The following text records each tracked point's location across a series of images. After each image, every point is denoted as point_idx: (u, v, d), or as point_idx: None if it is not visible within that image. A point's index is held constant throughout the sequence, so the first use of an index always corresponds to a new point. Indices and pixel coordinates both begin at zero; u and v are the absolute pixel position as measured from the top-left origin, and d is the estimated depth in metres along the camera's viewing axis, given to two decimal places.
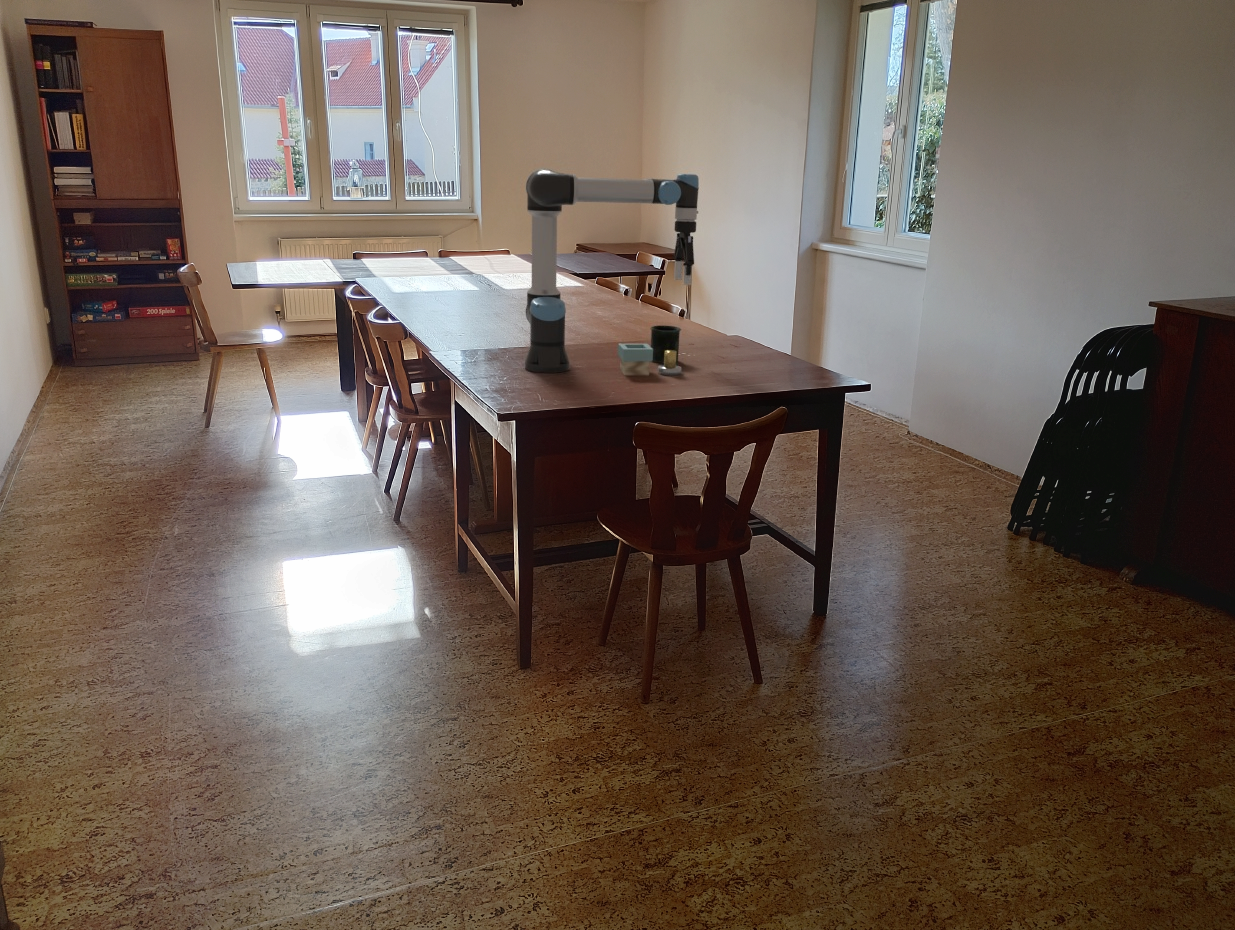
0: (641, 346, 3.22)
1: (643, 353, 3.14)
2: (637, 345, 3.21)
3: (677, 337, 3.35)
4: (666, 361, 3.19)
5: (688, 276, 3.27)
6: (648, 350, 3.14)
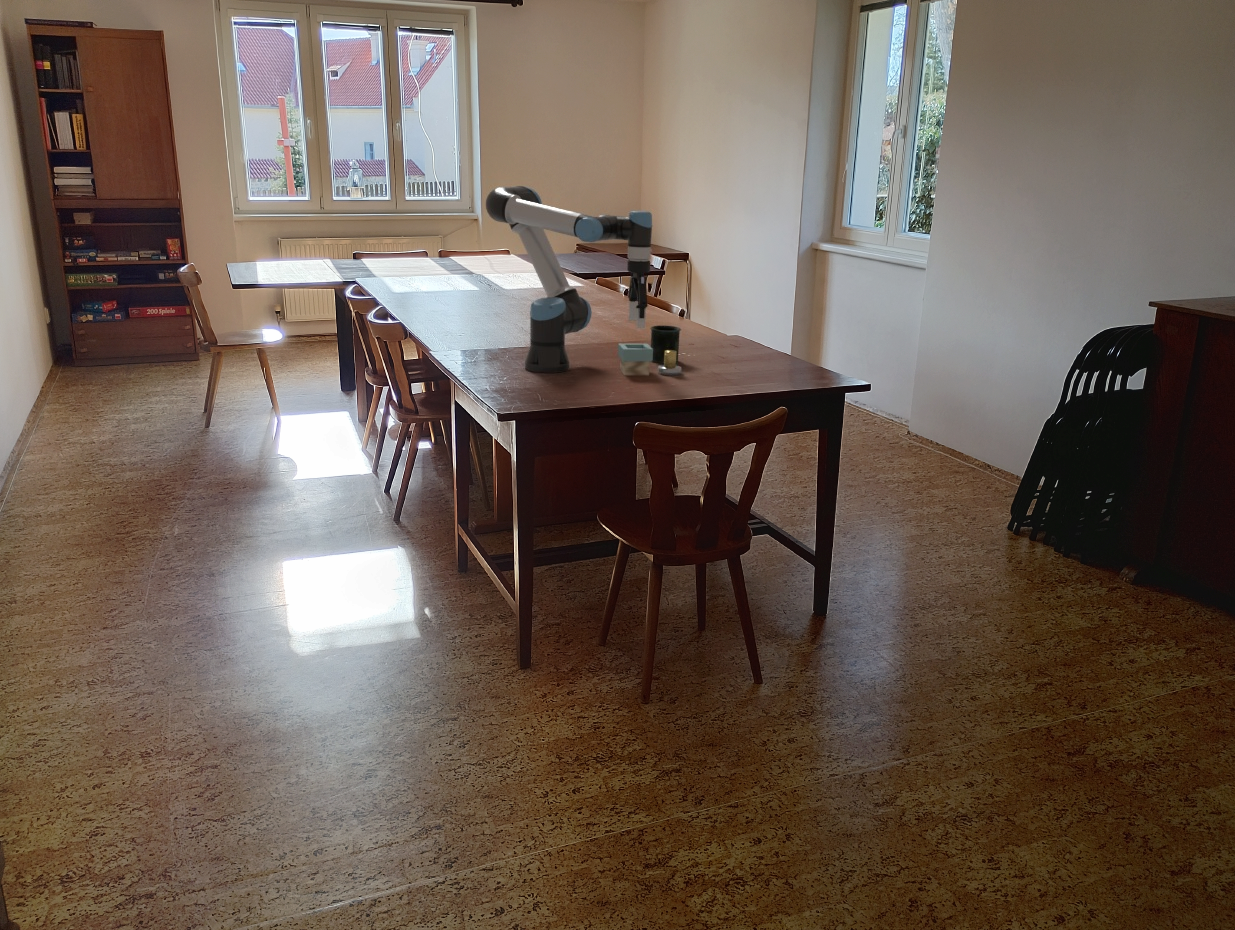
0: (641, 346, 3.22)
1: (643, 353, 3.14)
2: (637, 345, 3.21)
3: (677, 337, 3.35)
4: (666, 361, 3.19)
5: (642, 319, 3.08)
6: (648, 350, 3.14)
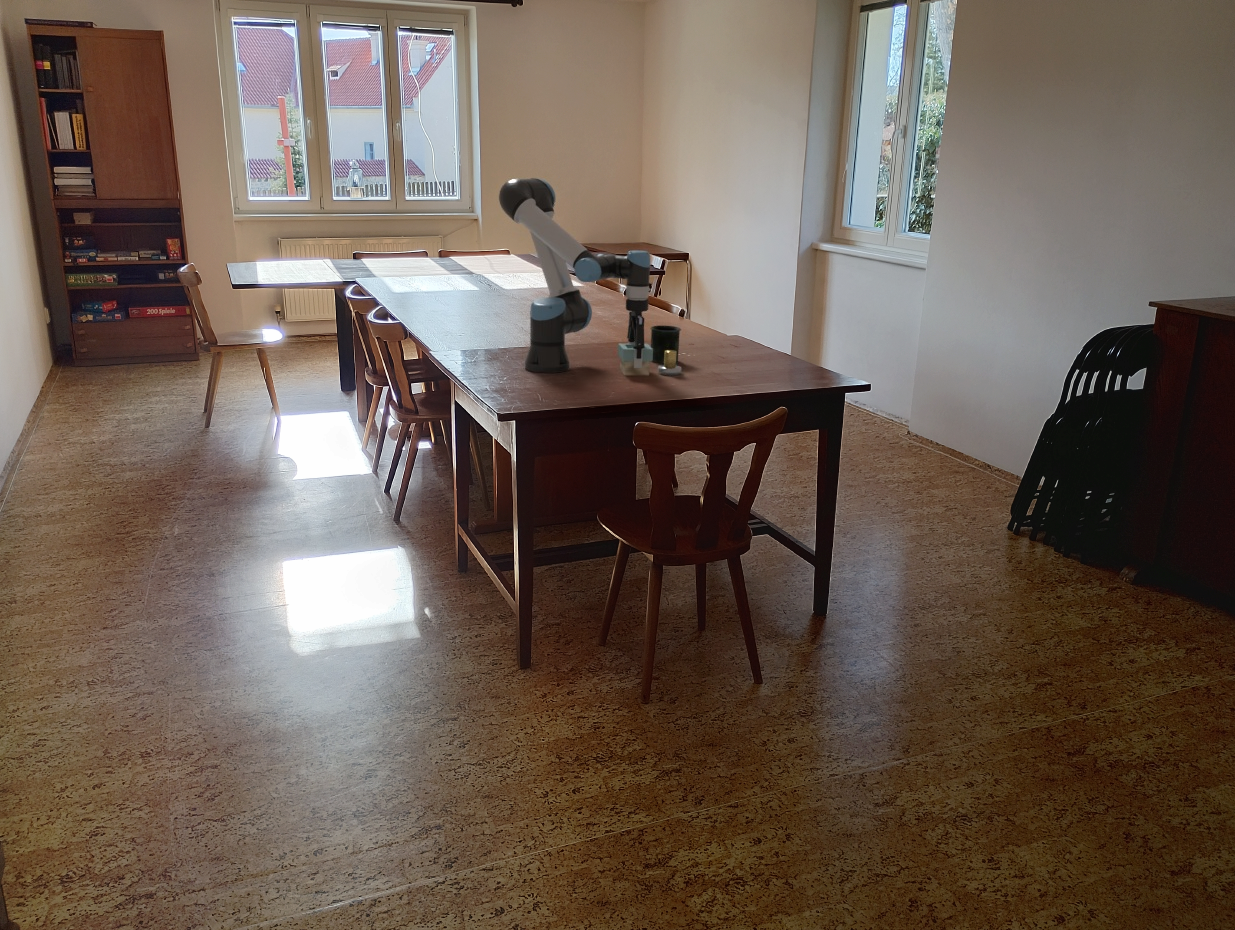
0: None
1: (643, 353, 3.14)
2: None
3: (677, 337, 3.35)
4: (666, 361, 3.19)
5: (639, 359, 3.14)
6: (648, 350, 3.14)
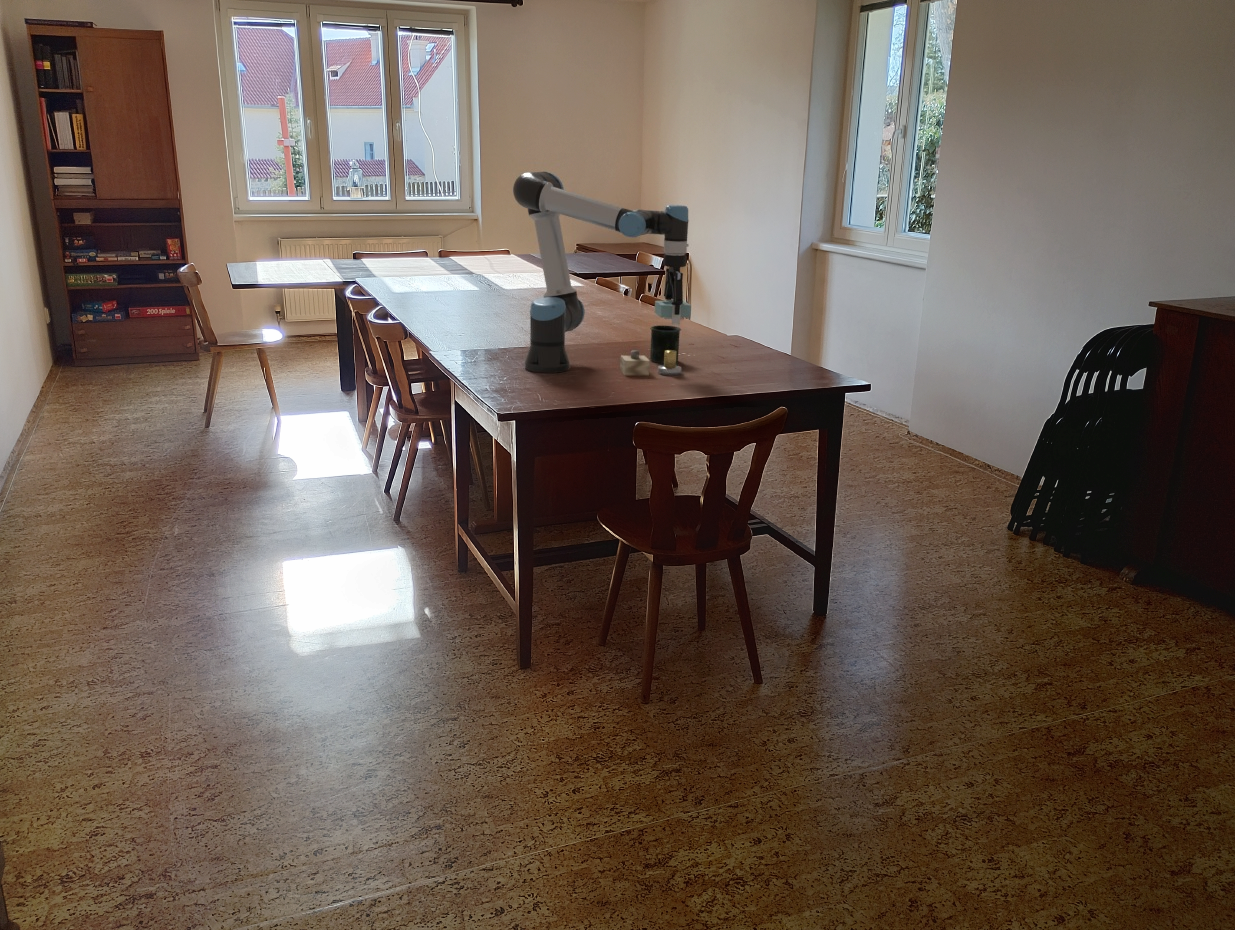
0: None
1: (681, 309, 3.10)
2: None
3: (677, 337, 3.35)
4: (666, 361, 3.19)
5: (677, 315, 3.10)
6: (686, 306, 3.10)
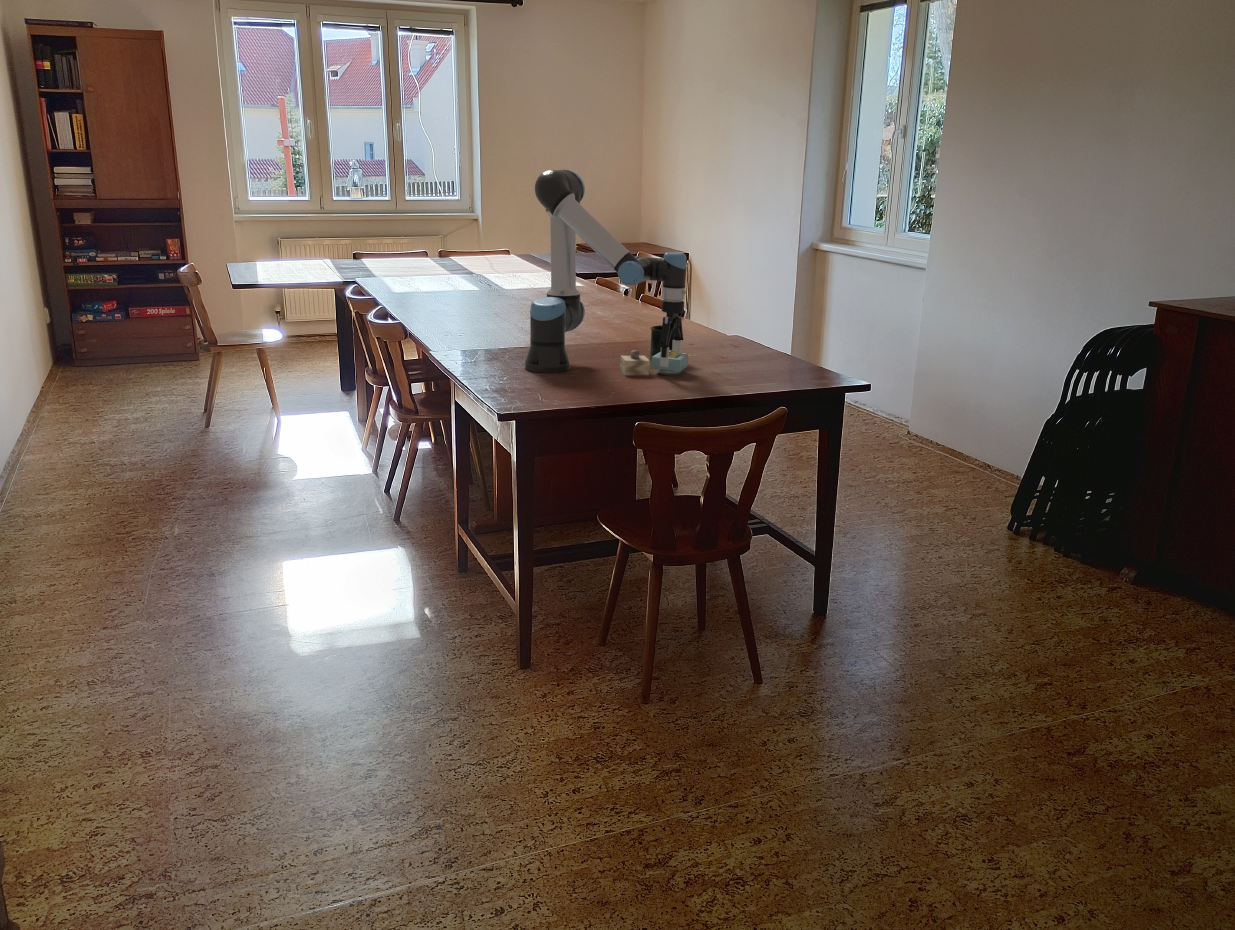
0: None
1: (670, 363, 3.15)
2: (676, 355, 3.23)
3: None
4: None
5: (664, 358, 3.13)
6: (675, 360, 3.15)
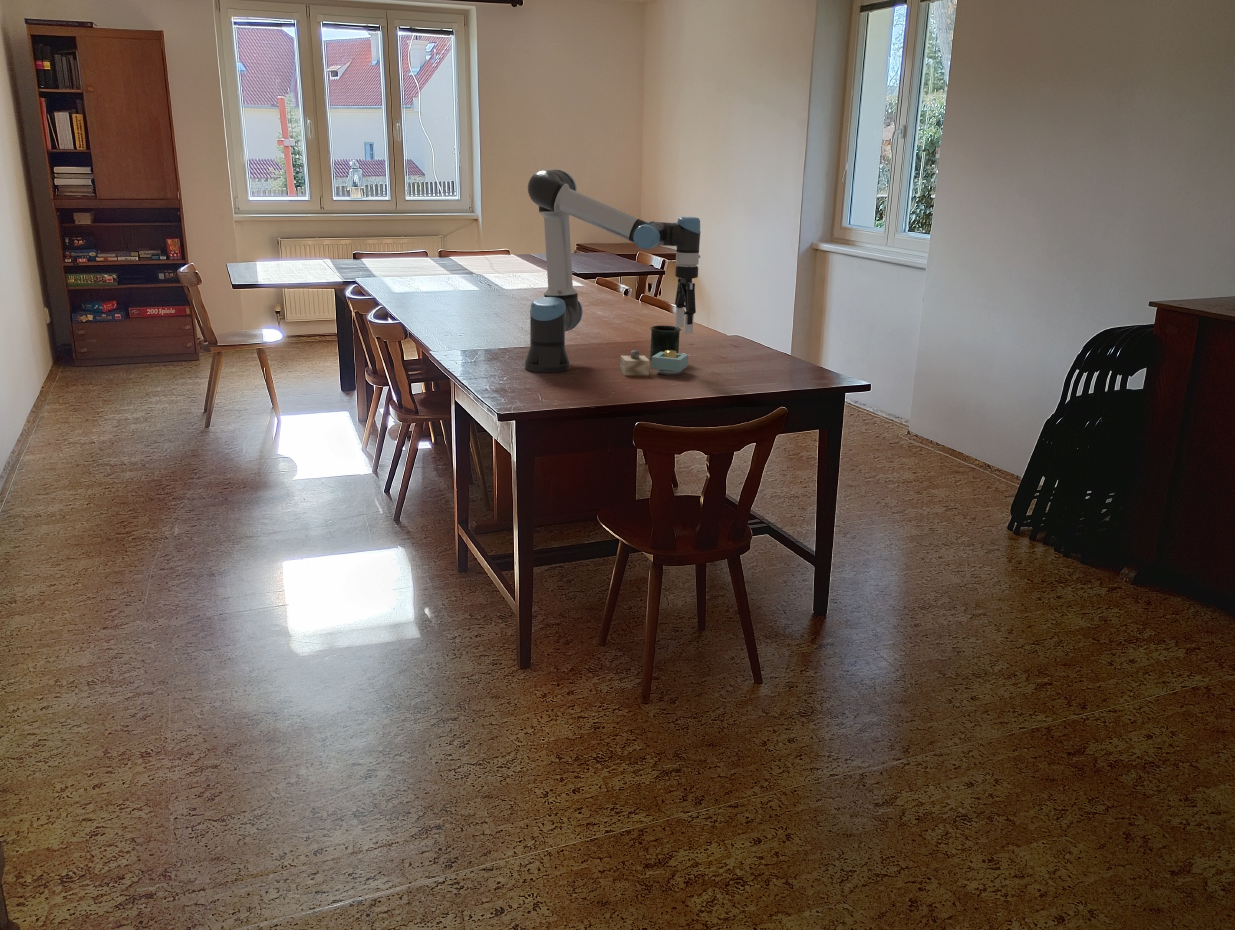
0: None
1: (670, 363, 3.15)
2: (676, 355, 3.23)
3: (677, 337, 3.35)
4: None
5: (689, 325, 3.11)
6: (675, 360, 3.15)
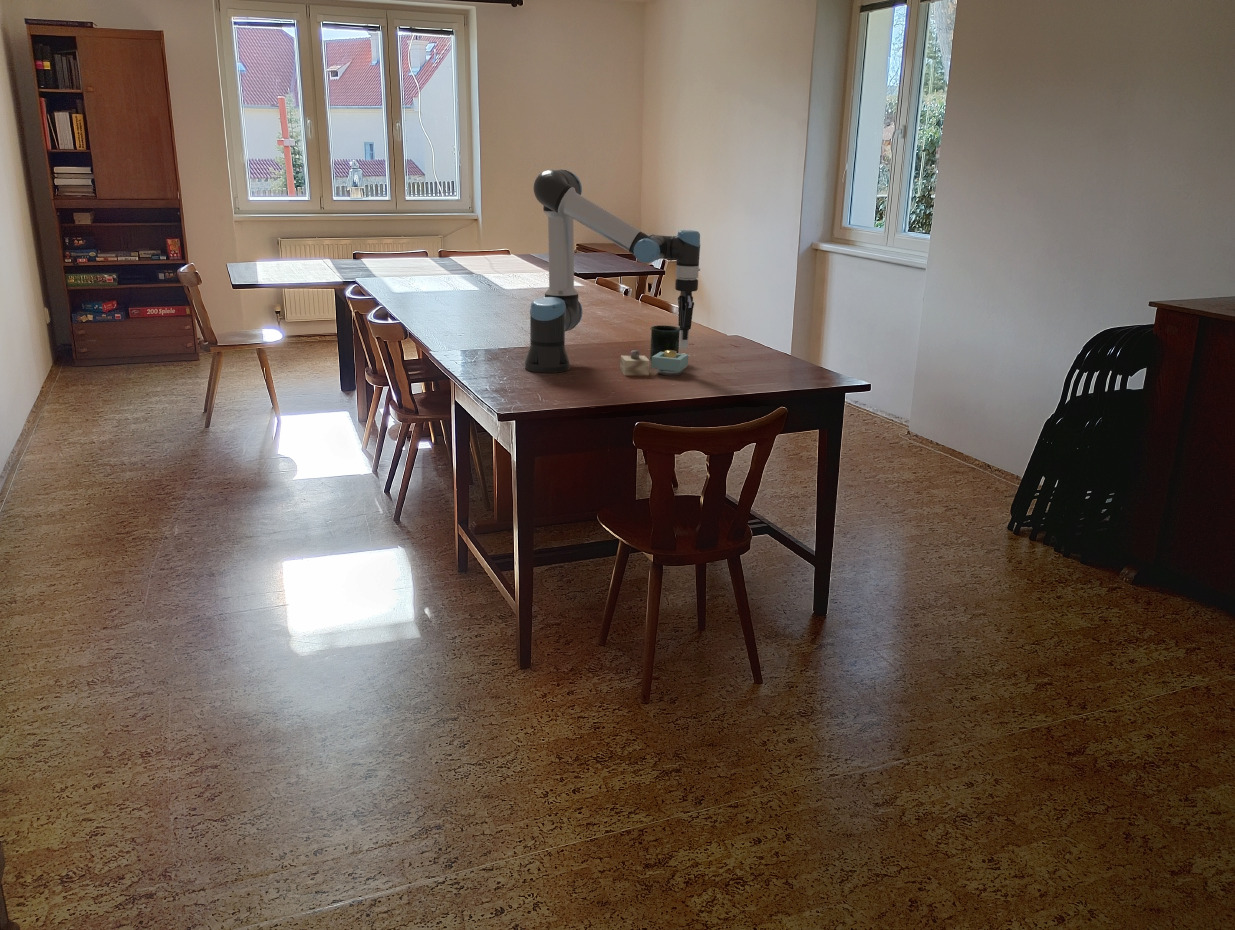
0: None
1: (670, 363, 3.15)
2: (676, 355, 3.23)
3: (677, 337, 3.35)
4: None
5: (685, 340, 3.18)
6: (675, 360, 3.15)
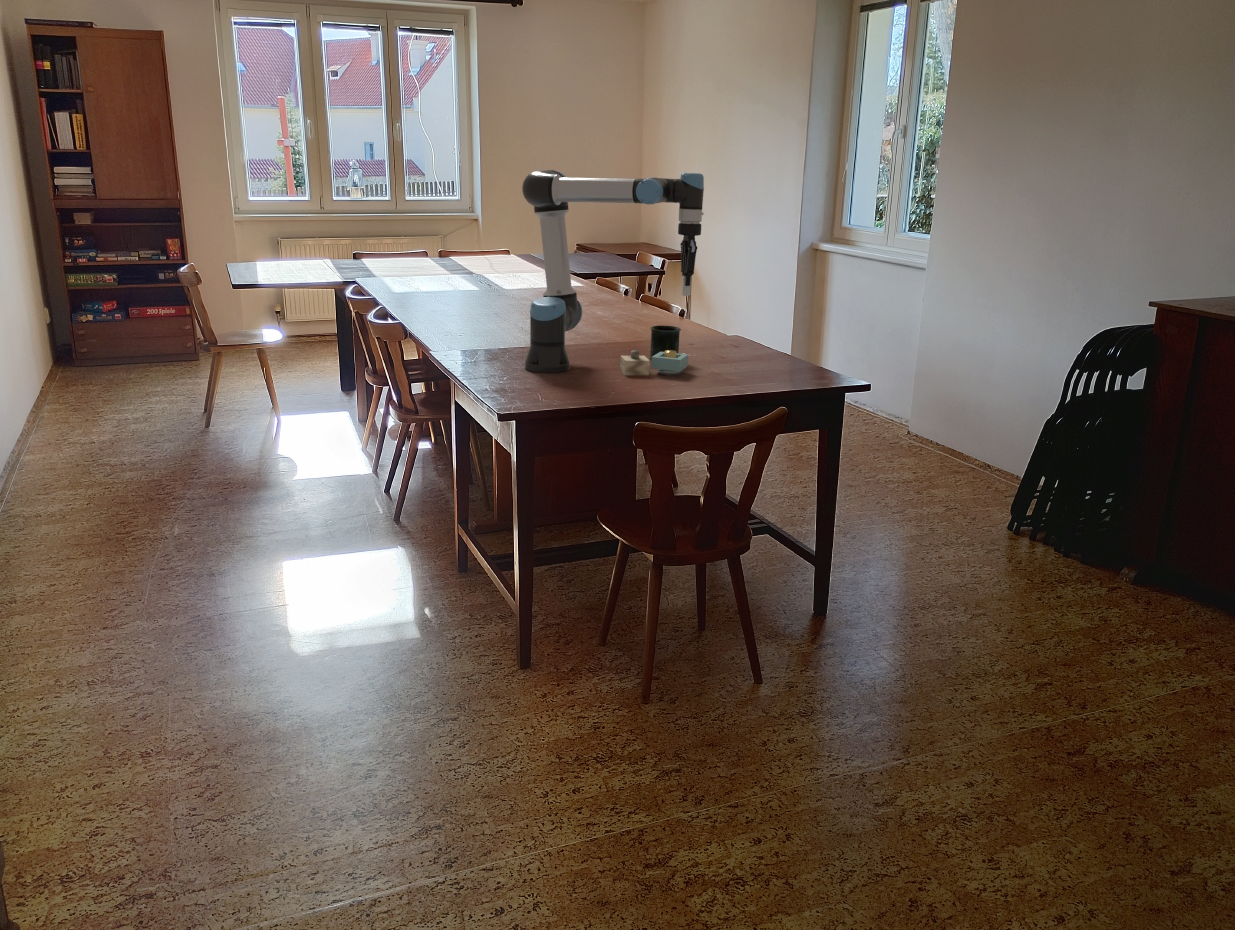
0: None
1: (670, 363, 3.15)
2: (676, 355, 3.23)
3: (677, 337, 3.35)
4: None
5: (687, 287, 3.13)
6: (675, 360, 3.15)
